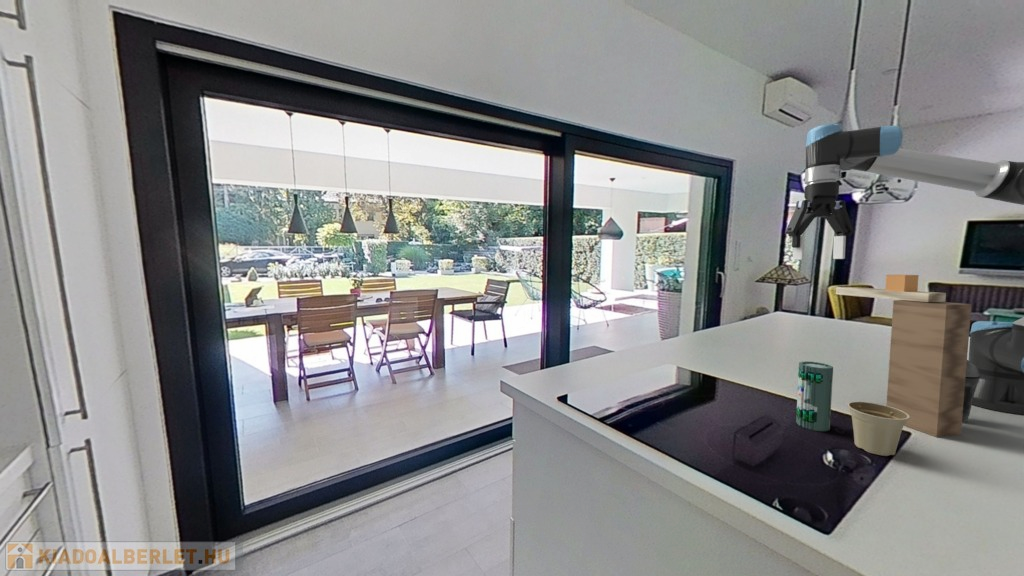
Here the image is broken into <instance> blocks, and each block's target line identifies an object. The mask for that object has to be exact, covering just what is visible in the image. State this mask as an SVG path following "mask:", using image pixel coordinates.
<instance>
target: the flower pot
mask: <svg viewBox="0 0 1024 576" xmlns="http://www.w3.org/2000/svg"><path fill="white" fill-rule="evenodd" d="M886 405H887V404H881V403H876V402H870V401H869V402H868V401H861V400H860V401H849V402H847V407H848V409H849V413H850V414H851V415H850V416H851V420H852V429H853V440H854V445H855V446H856V447H857V448H858V449H862V450H864V451H866V452H867V453H869V454H873V455H877V456H882V457H888V456H895V455H896V452H897V448H898V444H899V441H900V437H901V434H902V431H903V428H904V427H905V426H904V425H905V424H906V421H907V420H908V419H909V418H910V416H909V415H908V414H907V413H905V412H903V411H901V410H899V409H896V408H893V407H889V406H886Z"/></svg>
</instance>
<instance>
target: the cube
mask: <svg viewBox="0 0 1024 576" xmlns="http://www.w3.org/2000/svg"><path fill="white" fill-rule="evenodd" d="M918 287H919V274H886V275H885V290H886V291H901V292H914V291H919V290H918V289H919V288H918Z"/></svg>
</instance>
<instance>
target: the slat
mask: <svg viewBox="0 0 1024 576" xmlns="http://www.w3.org/2000/svg"><path fill="white" fill-rule="evenodd" d="M835 295H841V296H851V297H862V298H863V297H865V298H876V299H885V300H887V299H888V300H908V301H920V302H946V299H947V298H946V297H947V293H946V292H935V291H933V292H932V291H919V290H917V291H914V292H901V291H886V290H885V289H884V288H873V287H870V288H869V287H857V286H856V287H855V286H841V287H838V286H837V287H835Z"/></svg>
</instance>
